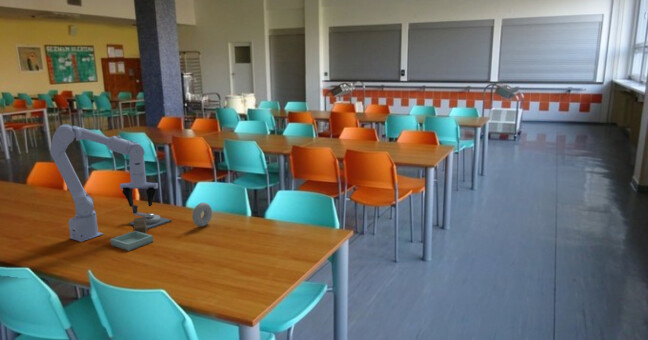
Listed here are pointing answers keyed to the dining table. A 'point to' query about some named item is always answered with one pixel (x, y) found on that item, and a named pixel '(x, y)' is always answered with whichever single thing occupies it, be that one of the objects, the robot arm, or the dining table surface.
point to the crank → (135, 211)
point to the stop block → (140, 224)
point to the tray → (131, 240)
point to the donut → (197, 214)
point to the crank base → (163, 221)
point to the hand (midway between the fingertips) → (141, 205)
